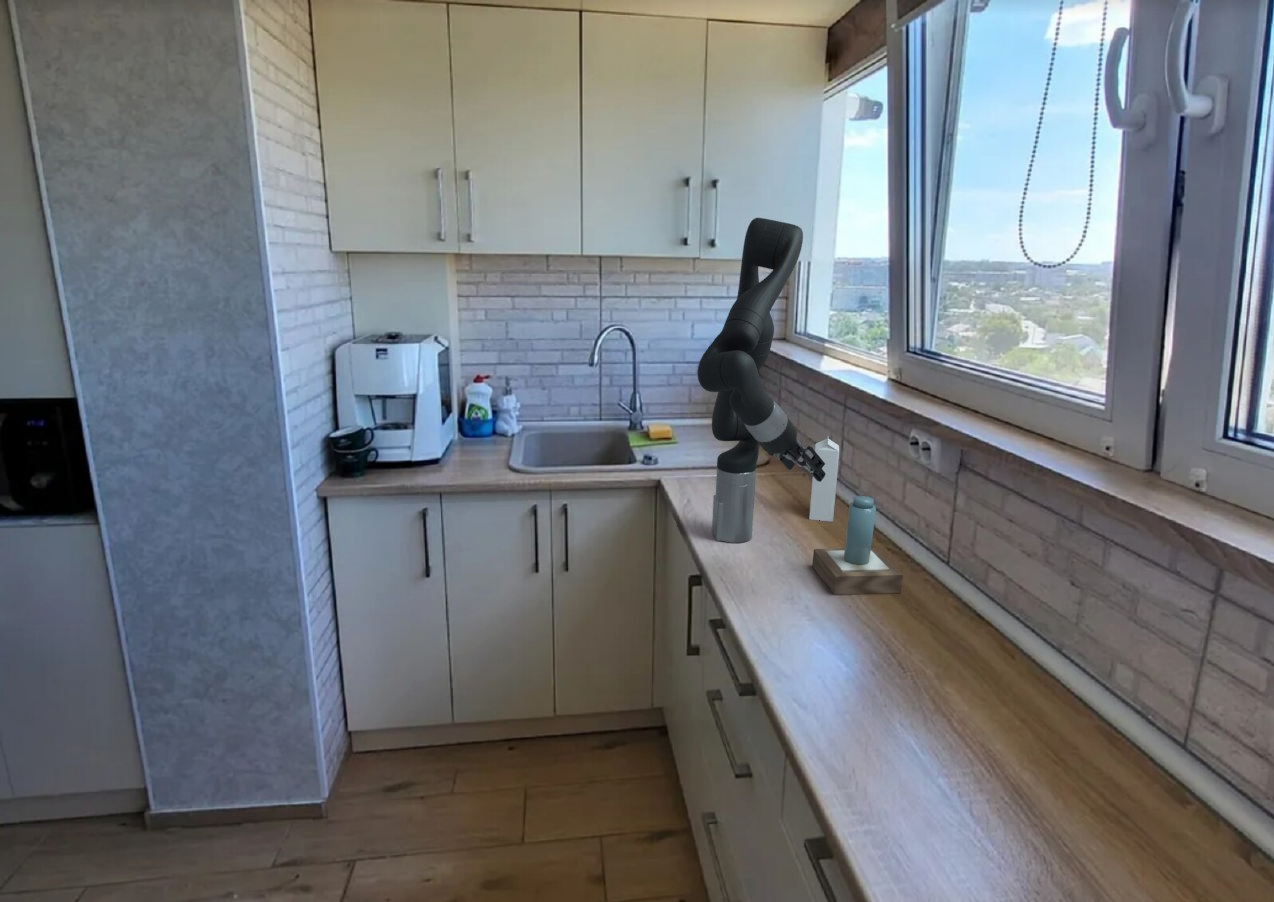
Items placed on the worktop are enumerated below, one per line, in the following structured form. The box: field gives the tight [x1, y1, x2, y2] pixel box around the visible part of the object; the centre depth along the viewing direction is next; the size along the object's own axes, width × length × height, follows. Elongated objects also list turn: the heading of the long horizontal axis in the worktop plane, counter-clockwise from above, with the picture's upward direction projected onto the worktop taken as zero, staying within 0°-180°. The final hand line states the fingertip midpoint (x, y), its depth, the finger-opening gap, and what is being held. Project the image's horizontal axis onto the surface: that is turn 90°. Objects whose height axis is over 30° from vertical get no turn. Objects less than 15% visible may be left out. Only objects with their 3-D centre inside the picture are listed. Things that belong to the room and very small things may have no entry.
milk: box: [808, 437, 840, 523], centre depth 189 cm, size 6×6×22 cm
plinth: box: [812, 547, 904, 596], centre depth 156 cm, size 14×14×4 cm
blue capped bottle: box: [844, 495, 877, 565], centre depth 153 cm, size 5×5×14 cm
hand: (806, 471), depth 152 cm, fingers open, 8 cm apart
